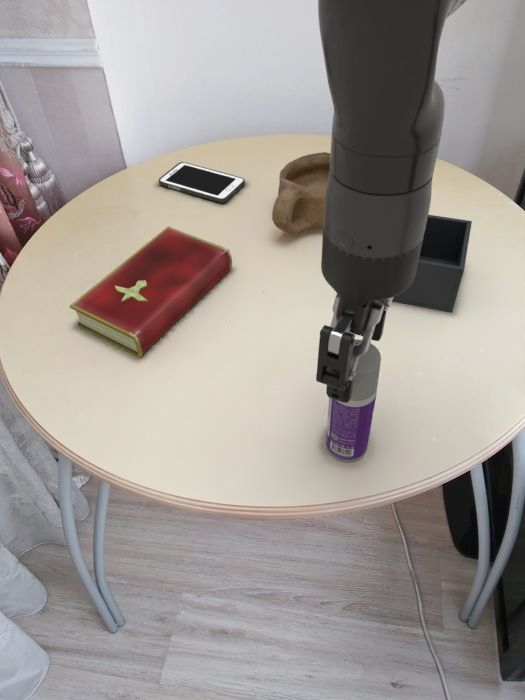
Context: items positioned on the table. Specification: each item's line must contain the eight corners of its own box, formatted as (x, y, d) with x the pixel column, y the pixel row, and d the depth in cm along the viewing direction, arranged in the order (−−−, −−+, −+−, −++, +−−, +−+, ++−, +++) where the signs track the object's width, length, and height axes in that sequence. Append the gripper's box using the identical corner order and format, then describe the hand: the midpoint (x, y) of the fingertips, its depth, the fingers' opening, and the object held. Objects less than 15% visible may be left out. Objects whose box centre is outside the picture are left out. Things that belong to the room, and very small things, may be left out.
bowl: (344, 254, 85) (330, 195, 79) (264, 255, 92) (245, 201, 86) (378, 193, 96) (368, 137, 89) (304, 198, 103) (289, 146, 96)
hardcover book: (233, 270, 86) (230, 248, 83) (142, 359, 74) (135, 336, 71) (172, 246, 91) (167, 224, 87) (77, 326, 79) (68, 304, 76)
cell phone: (224, 204, 98) (223, 200, 97) (157, 185, 103) (156, 180, 102) (247, 183, 102) (246, 178, 102) (181, 165, 108) (180, 160, 107)
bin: (460, 263, 85) (471, 220, 79) (452, 312, 78) (464, 269, 72) (386, 251, 88) (392, 209, 82) (371, 297, 80) (377, 254, 75)
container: (375, 451, 63) (392, 362, 52) (340, 469, 62) (350, 382, 51) (351, 421, 66) (363, 331, 55) (318, 438, 65) (322, 349, 54)
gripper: (392, 295, 37) (367, 436, 49) (448, 186, 45) (415, 329, 57) (287, 265, 39) (288, 405, 51) (359, 167, 47) (345, 307, 59)
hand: (355, 365), depth 54 cm, fingers open, 8 cm apart
